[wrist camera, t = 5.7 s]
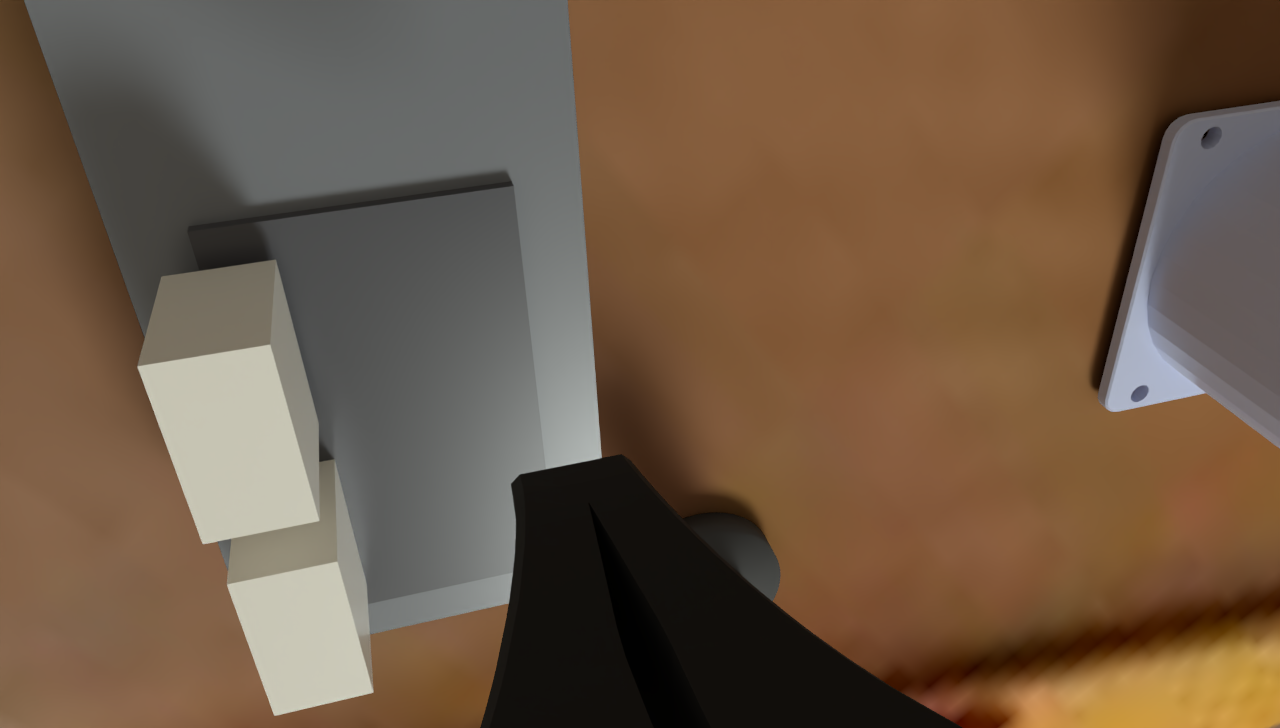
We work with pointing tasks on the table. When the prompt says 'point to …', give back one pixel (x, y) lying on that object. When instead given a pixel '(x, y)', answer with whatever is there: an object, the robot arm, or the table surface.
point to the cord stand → (740, 548)
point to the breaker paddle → (233, 400)
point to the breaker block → (361, 274)
